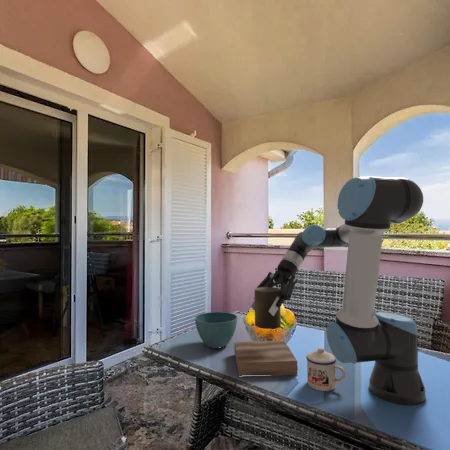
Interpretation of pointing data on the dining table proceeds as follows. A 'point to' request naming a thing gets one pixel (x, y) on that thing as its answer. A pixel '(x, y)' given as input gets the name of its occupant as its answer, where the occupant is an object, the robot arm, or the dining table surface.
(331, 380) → the teacup with lid
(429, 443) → the dining table surface
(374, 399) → the dining table surface
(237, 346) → the block
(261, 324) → the pillar candle
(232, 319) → the plant pot
